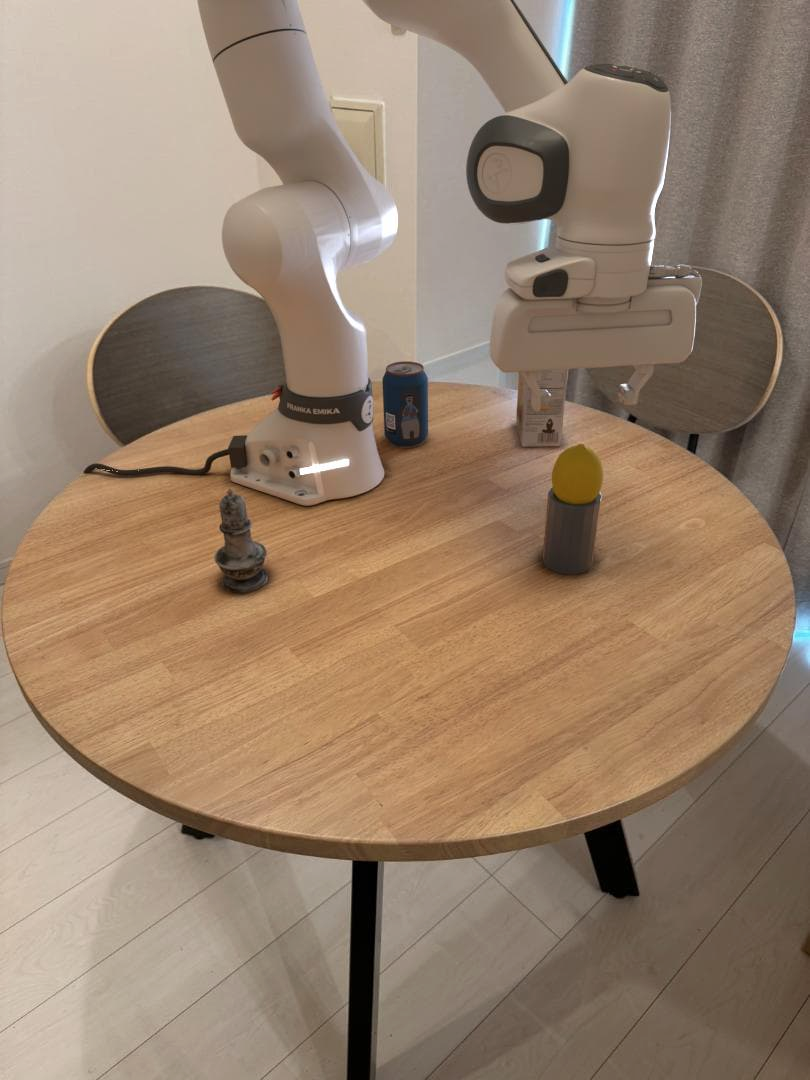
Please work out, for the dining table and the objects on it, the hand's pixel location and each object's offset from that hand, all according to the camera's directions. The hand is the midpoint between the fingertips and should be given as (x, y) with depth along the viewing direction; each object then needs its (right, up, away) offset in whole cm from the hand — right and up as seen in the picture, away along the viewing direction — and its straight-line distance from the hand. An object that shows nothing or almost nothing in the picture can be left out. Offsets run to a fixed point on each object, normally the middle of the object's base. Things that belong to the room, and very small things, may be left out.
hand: (583, 405), depth 77 cm
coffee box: (+2, +3, +41) cm, 41 cm away
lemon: (0, -11, +7) cm, 13 cm away
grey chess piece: (-37, -19, +9) cm, 43 cm away
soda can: (-19, +2, +40) cm, 44 cm away
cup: (+1, -17, +10) cm, 20 cm away
